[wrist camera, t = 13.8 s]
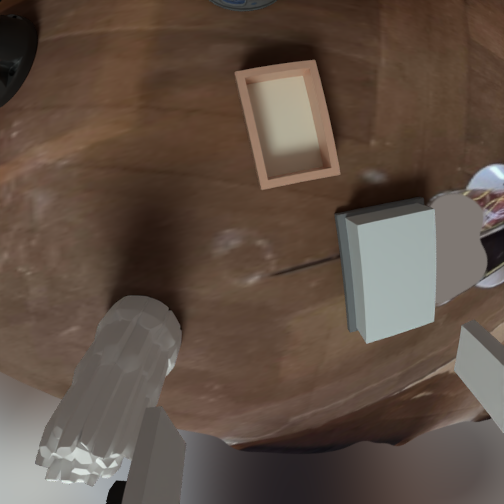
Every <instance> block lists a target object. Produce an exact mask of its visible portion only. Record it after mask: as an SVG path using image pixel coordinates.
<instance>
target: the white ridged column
mask: <svg viewBox="0 0 504 504" xmlns="http://www.w3.org/2000/svg"><path fill="white" fill-rule="evenodd" d="M168 309H169V307H167V306H166V305H165V304H163V303H162V302H161V301H158V300H156V299H154V298H150V297H148V296H131V295H130V296H125V297H123V298H122V299H120V300H119V301H117V302H116V303H115V304H114V305H113V306H112V307H111V308H110V309H109V311H108V312H107V313H106V315H105V316H104V317H103V319H102V320H101V321H100V323H99V324H98V327H97V331H96V335H95V340H94V342H93V343H92V345H91V346H90V348H89V349H88V350H87V352H86V353H85V355H84V356H83V358H82V359H81V361H80V362H79V364H78V365H77V367H76V368H75V372H74V377H73V381H72V385H71V387H70V388H69V390H68V391H67V393H66V394H65V396H64V397H63V399H62V401H61V403H60V404H59V405H58V407H57V409H56V410H55V412H54V414H53V415H52V417H51V419H50V420H49V422H48V423H47V425H46V427H45V430H44V433H43V436H42V439H41V442H40V445H39V451H38V454H37V457H36V461H35V464H37V465H39V466H43V467H46V468H48V469H47V474H46V478H45V479H46V480H48V481H59V480H60V478H61V482H62V483H67V484H71V483H74V482H84V483H85V484H87V485H90V486H93V485H94V484H95V483H96V481H97V480H98V478H99V477H100V475H101V477H102V478H109V477H111V476H112V475H113V474H114V473H115V472H116V471H117V470H119V468H120V467H121V463H122V460H123V458H124V457H126V458H127V459H129V460H131V461H132V458H133V454H134V450H135V446H136V442H137V438H138V435H139V431H140V427H141V423H142V420H143V416H144V413H145V409H146V408H149V407H156V405H157V403H158V399H159V396H160V393H161V389H162V386H163V383H164V379H165V376H166V375H168V374H169V373H170V371H171V370H172V368H173V367H174V365H175V363H176V359H177V356H178V352H179V349H180V345H181V339H182V330H180V324H179V322H178V320H177V319H176V317H175V315H174V313H173V312H172V310H170V311H168Z"/></svg>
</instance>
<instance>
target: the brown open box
mask: <svg viewBox="0 0 504 504" xmlns="http://www.w3.org/2000/svg"><path fill="white" fill-rule="evenodd" d="M235 82H236V87H237V92H238V96H239V100H240V104H241V109H242V113H243V117H244V122H245V126H246V130H247V135H248V139H249V144H250V148H251V153H252V157H253V162H254V166H255V171H256V175H257V180H258V184H259V187H260V188H261V190H264V189H268V188H273V187H278V186H283V185H288V184H293V183H298V182H303V181H308V180H313V179H319V178H324V177H330V176H335V175H341V174H340V169H339V163H338V158H337V152H336V147H335V142H334V137H333V132H332V128H331V123H330V118H329V114H328V110H327V105H326V101H325V97H324V92H323V88H322V84H321V80H320V76H319V73H318V69H317V65H316V61H315V60H308V61H299V62H291V63H284V64H277V65H270V66H264V67H258V68H253V69H247V70H242V71H237V72H235Z"/></svg>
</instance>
